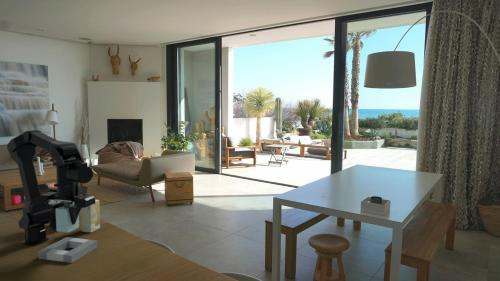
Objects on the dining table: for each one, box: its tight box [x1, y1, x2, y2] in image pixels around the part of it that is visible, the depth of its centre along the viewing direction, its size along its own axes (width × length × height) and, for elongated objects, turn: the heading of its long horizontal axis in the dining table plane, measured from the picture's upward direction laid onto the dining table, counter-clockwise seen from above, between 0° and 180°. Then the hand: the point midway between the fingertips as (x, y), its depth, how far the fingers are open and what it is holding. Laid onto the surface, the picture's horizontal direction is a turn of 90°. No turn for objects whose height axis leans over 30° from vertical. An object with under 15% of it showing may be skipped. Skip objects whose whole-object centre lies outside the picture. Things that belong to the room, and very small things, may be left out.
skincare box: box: [81, 199, 101, 233], centre depth 144 cm, size 6×4×12 cm
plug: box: [56, 202, 80, 233], centre depth 121 cm, size 4×6×10 cm
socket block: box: [37, 236, 98, 264], centre depth 123 cm, size 13×13×2 cm
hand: (67, 223), depth 122 cm, fingers closed on plug, 4 cm apart
